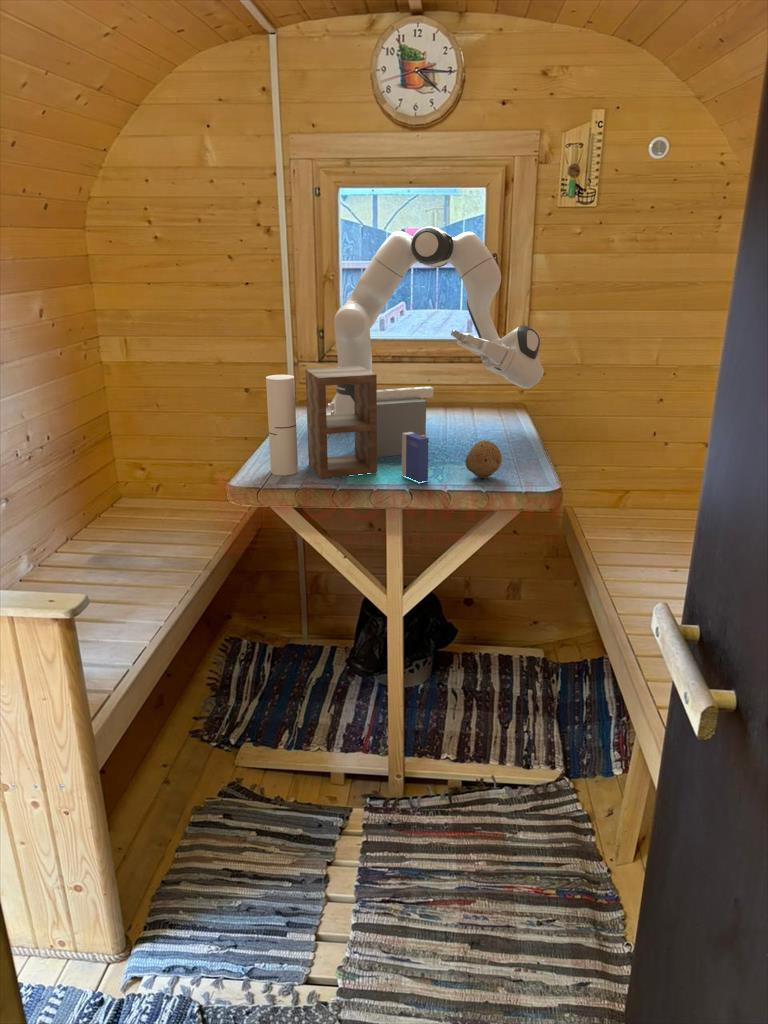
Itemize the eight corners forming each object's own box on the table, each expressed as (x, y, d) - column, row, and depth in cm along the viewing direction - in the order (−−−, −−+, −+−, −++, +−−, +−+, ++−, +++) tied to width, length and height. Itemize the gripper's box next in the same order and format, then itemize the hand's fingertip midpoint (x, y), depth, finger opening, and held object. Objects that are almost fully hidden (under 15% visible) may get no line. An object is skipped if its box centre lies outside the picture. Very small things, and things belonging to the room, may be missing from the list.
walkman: (427, 482, 192) (428, 436, 188) (419, 484, 191) (419, 438, 187) (410, 475, 198) (410, 430, 194) (401, 476, 197) (401, 431, 193)
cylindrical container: (293, 475, 198) (289, 379, 189) (267, 474, 199) (262, 379, 190) (301, 468, 204) (297, 375, 196) (275, 466, 206) (270, 374, 197)
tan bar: (364, 399, 215) (364, 390, 214) (430, 395, 221) (430, 386, 220) (367, 401, 213) (367, 392, 212) (433, 396, 219) (433, 387, 218)
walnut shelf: (308, 464, 207) (305, 368, 198) (361, 459, 212) (360, 365, 203) (321, 479, 195) (318, 378, 186) (376, 473, 199) (376, 374, 190)
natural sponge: (504, 484, 191) (506, 445, 188) (469, 484, 191) (470, 446, 187) (496, 473, 200) (498, 436, 196) (463, 474, 199) (464, 437, 196)
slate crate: (359, 447, 225) (359, 396, 219) (410, 442, 229) (411, 393, 224) (372, 457, 214) (371, 404, 209) (425, 452, 219) (426, 401, 213)
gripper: (486, 341, 231) (450, 320, 225) (517, 351, 213) (479, 328, 207) (476, 360, 232) (439, 339, 226) (506, 371, 214) (468, 349, 208)
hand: (459, 334), depth 216 cm, fingers open, 8 cm apart
